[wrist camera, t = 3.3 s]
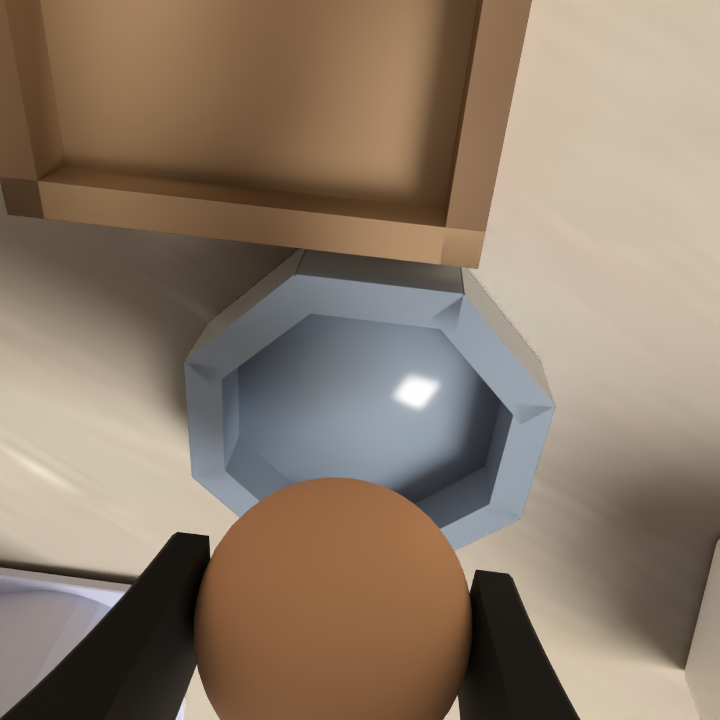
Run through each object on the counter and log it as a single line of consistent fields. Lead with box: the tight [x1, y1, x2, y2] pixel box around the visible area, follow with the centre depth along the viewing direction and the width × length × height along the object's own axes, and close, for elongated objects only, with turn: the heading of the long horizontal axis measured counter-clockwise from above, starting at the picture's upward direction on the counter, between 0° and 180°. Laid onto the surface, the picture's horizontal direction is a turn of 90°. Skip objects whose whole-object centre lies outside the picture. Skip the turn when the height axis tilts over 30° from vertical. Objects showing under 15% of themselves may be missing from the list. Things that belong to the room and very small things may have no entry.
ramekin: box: [184, 248, 555, 551], centre depth 16 cm, size 9×9×2 cm
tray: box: [0, 0, 532, 269], centre depth 12 cm, size 10×8×2 cm
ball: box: [194, 477, 472, 720], centre depth 11 cm, size 5×5×5 cm
